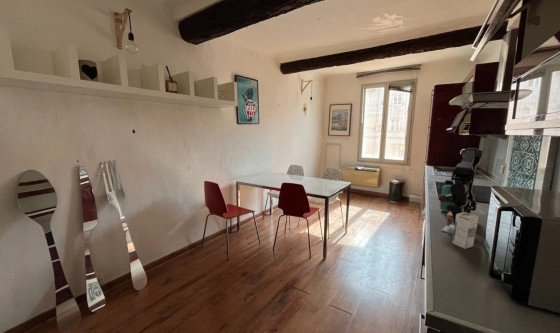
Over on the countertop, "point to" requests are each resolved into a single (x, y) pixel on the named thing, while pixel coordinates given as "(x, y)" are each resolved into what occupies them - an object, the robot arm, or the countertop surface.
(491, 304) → the countertop surface
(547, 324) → the countertop surface
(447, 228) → the board
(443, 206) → the beverage bottle
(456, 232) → the syrup box
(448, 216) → the block with dowel legs
